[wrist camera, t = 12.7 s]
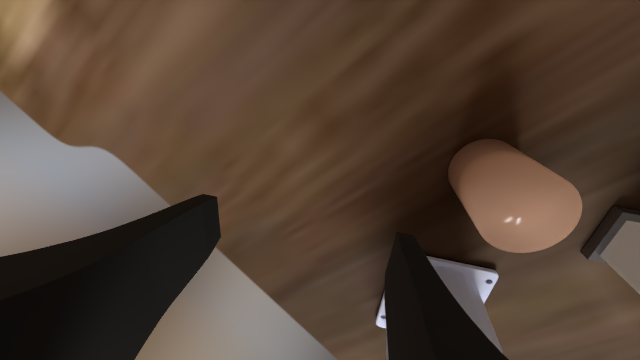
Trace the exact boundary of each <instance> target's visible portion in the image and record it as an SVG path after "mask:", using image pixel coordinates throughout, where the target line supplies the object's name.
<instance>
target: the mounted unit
mask: <svg viewBox="0 0 640 360" xmlns="http://www.w3.org/2000/svg"><path fill="white" fill-rule="evenodd" d="M581 253H582V254H583V255H584V256H585V257H586V258H587V259H588V260H592V261H597V262H602V263H608V264H609V265H610V266H611V267H612V268H613V269H614V270H615V271H616V272H617V273H618V274H619V275H620V276H621V277H622V278H623V279H624V280H625V281H626V282H627V283H628V284H629V285H630V286H631V287H632V288H634V289H635V290H636V291H637V292H638V293H639V294H640V210H635V209H629V208H623V207H617V206H613V207H612V208H611V210H610V211H609V213H608V214H607V215H606V217H605V218H604V220H603V221H602V222H601V224H600V225H599V227H598V228H597V229H596V231H595V232H594V234H593V235H592V236H591V238H590V239H589V241H588V242H587V243H586V245H585V246H584V248H583V249H582V250H581Z"/></svg>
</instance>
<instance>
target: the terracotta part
mask: <svg viewBox="0 0 640 360" xmlns="http://www.w3.org/2000/svg"><path fill="white" fill-rule="evenodd" d="M448 179H449V182H450V184H451V186H452V188H453V189H454V191H455V193H456V194H457V196H458V198H459V199H460V201H461V203H462V204H463V206H464V208H465V209H466V211H467V213H468V214H469V216H470V218H471V219H472V221H473V223H474V225H475V226H476V228H477V230H478V231H479V233H480V234H481V236H482V237H483V238H484V239H485V240H486V241H487V242H488V243H489V244H491V245H492V246H494V247H496V248H498V249H501V250H504V251H508V252H514V253H528V252H535V251H539V250H543V249H546V248H548V247H551V246H553V245H555V244H557V243H558V242H560V241H561V240H563V239H564V238H565V237H567V236H568V235H569V234H570V233H571V232H572V231H573V229H574V228H575V227H576V225H577V223H578V222H579V219H580V217H581V213H582V200H581V197H580V194H579V192H578V191H577V189H576V188H575V187H574V186H573V185H572V184H571V183H570V182H568V181H567V180H565V179H564V178H562V177H561V176H559V175H557V174H556V173H554V172H553V171H551V170H549V169H548V168H546V167H545V166H543V165H541V164H540V163H538V162H537V161H535V160H533V159H532V158H530V157H528V156H527V155H525V154H524V153H522V152H520V151H519V150H517V149H516V148H514V147H512V146H511V145H509V144H508V143H506V142H503V141H501V140H497V139H481V140H477V141H474V142H471V143H469V144H467V145H466V146H464V147H463V148H461V149H460V150H459V151H458V152H457V153H456V154H455V155H454V157H453V158H452V160H451V162H450V164H449V168H448Z"/></svg>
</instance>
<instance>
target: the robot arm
mask: <svg viewBox="0 0 640 360" xmlns="http://www.w3.org/2000/svg"><path fill="white" fill-rule="evenodd" d="M220 237H221V234H220V223H219V213H218V202H217V197H215V196H210V195H205V194H202V195H199V196H196V197H193V198H191V199H188V200H185V201H183V202H180V203H178V204H175V205H173V206H171V207H168V208H166V209H163V210H161V211H158V212H156V213H153V214H151V215H148V216H146V217H143V218H140V219H137V220H135V221H132V222H129V223H127V224H124V225H121V226H118V227H116V228H113V229H110V230H107V231H103V232H100V233H97V234H94V235H90V236H87V237H84V238H80V239H77V240H73V241H69V242H65V243H61V244H57V245H53V246H49V247H45V248H41V249H37V250H32V251H28V252H23V253H18V254H13V255H8V256H3V257H0V360H134V359H135V358H136V356H137V354H138V353H139V351H140V350H141V348H142V347H143V345H144V343H145V342H146V340H147V339H148V337H149V335H150V334H151V333H152V331H153V330H154V328H155V327H156V325H157V323H158V322H159V320H160V319H161V317H162V316H163V315H164V313H165V312H166V311H167V309H168V308H169V306H170V305H171V304H172V302H173V301H174V300H175V298H176V297H177V296H178V295H179V294H180V293H181V291H182V290H183V289H184V288H185V286H186V285H187V284H188V283H189V281H190V280H191V279H192V278H193V276H194V275H195V274H196V273H197V271H198V270H199V269H200V268H201V266H202V265H203V264H204V263H205V261H206V260H207V259H208V257H209V256H210V254H211V252H212V251H213V249H214V248H215V246H216V244H217V242H218V241H219V239H220ZM498 277H499V276H498V274H497V272H496V271H495V270H492V269H488V268H483V267H478V266H473V265H468V264H463V263H459V262H454V261H449V260H444V259H439V258H434V257H429V256H426V255H425V253H424V251H423V250H422V248H421V246H420V245H419V243H418V241H417V240H416V238H415V237H414V236H412V235H407V234H402V233H397V234H396V238H395V241H394V245H393V248H392V252H391V255H390V259H389V262H388V266H387V269H386V273H385V291H384V294H383V298H382V301H381V304H380V308H379V311H378V314H377V318H376V324H377V325H378V326H379V327H383V328H386V353H387V360H508V359H507V358H506V357H505V356H504V354H503V351H502V349H501V346H500V344H499V341H498V339H497V336H496V334H495V331H494V329H493V326H492V323H491V321H490V318H489V316H488V313H487V311H486V308H485V306H484V303H485V301H486V299H487V297H488V295H489V294H490V292H491V290H492V288H493V286H494V285H495V283H496V281H497V279H498ZM488 279H490V280H488Z"/></svg>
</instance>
